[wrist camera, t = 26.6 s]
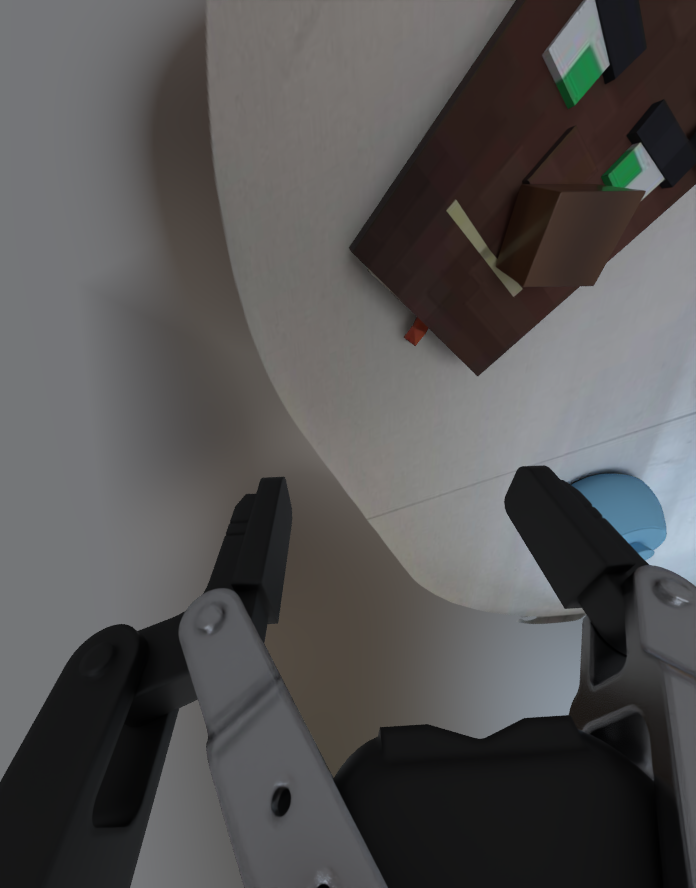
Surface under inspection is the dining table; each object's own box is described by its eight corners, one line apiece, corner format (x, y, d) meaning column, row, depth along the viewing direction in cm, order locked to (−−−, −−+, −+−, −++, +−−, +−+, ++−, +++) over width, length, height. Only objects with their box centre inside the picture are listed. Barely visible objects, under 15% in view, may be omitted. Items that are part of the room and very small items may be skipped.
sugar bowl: (552, 477, 48) (603, 536, 39) (649, 459, 46) (728, 516, 37) (538, 530, 57) (578, 589, 48) (620, 516, 55) (677, 574, 46)
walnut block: (494, 267, 23) (522, 287, 20) (521, 184, 20) (560, 191, 16) (555, 266, 23) (593, 286, 20) (592, 183, 20) (647, 190, 16)
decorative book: (321, 269, 23) (874, -579, 9) (324, 260, 29) (660, -258, 15) (468, 403, 30) (886, 49, 17) (446, 374, 36) (741, 96, 23)
